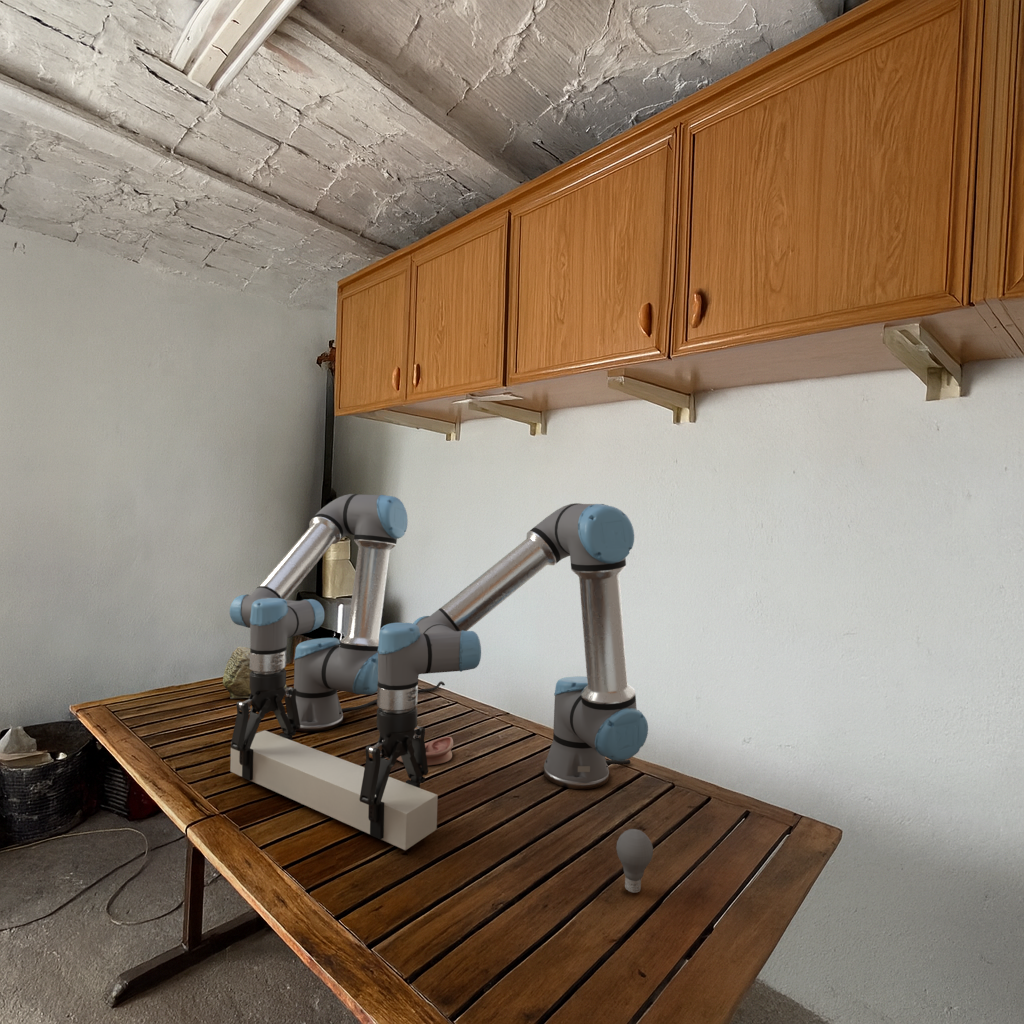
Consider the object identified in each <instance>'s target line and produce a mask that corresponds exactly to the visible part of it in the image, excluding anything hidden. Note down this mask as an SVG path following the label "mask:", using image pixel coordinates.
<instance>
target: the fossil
mask: <svg viewBox="0 0 1024 1024" xmlns="http://www.w3.org/2000/svg"><path fill="white" fill-rule="evenodd" d="M251 671H252V670H250V647H247V646H246V647H245V646H238V647H237V648H236V649H235V650H233V651H232V653H231V656H230V657H229V659H228V660H227V663H226V666H225V668H224V671H223V675H222V676H223V677H222V685H223V687H224V688H225V690H226V691H228V693H229V698H230V699H249V697H250V694H251V690H250V686H249V684H250V672H251ZM287 687H288V686H287V684H286V685H285V686H284V688H285V689H286V688H287Z"/></svg>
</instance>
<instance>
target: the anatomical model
mask: <svg viewBox="0 0 1024 1024" xmlns="http://www.w3.org/2000/svg"><path fill="white" fill-rule="evenodd" d="M453 747H454V739H453V737H452V736H443V737H439V738H437V739H436V738H435V739H433V740H431V741H428V742H425V749H426V757H427V765H428V766H434V765H435V766H436V765H439V764H440V765H441V764H444V763H446V762H449V761H450V760H452V758H453V752H452V750H453ZM396 761H399V762H401V763H403V760H402V758H401V756H400V757H398V758H397V759H396ZM420 766H421V765H420ZM421 767H422V766H421Z"/></svg>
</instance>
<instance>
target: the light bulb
mask: <svg viewBox="0 0 1024 1024" xmlns="http://www.w3.org/2000/svg"><path fill="white" fill-rule="evenodd" d="M615 849H616V854H617V857H618V859H619V861H620V863H621V865H622V867H623V873H624V874H623V875H624V876H625V878H624V888H625V890H627V891H628V892H630V893H634V894H635V893H639V892H640V891H641V889H642V887H641V886H642V879H643V877H644V875H645V871H646V868H647V867H648V866H649V864H650V863H651V861H652V859H653V855H654V847H653V843H652V841H651V838H649V836H648V835H647V834H646V833H645V832H643V831H642V830H641V829H636V828H629V829H627V830H625V831H623V832H622V833H621V834H620V835H619V837H618V839H617V841H616V847H615Z"/></svg>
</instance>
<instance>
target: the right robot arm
mask: <svg viewBox="0 0 1024 1024" xmlns="http://www.w3.org/2000/svg"><path fill="white" fill-rule="evenodd" d="M634 544H635V530H634V526H633V523H632V521H631V519H630V518H629V517H628V515H627V514H626V513H625V512H623V510H621V509H619V508H618V507H615V506H612V505H608V504H605V503H577V502H575V503H569V504H566V505H563V506H561V507H559V508H557V509H556V510H555V511H553V512H552V513H550V514H549V515H547V516H546V517H545V518H544V519H542V520H541V521H540V522H539V523H537V524H536V525H535V526H533V527H532V528H531V529H530V530H529V531H527V532H526V538H525V540H523V541H522V542H520V544H518V545H517V546H516V547H515V548H513V549H512V550H511V551H510V552H508V553H507V554H506V555H504V557H502V558H501V559H500V560H498V561H497V562H496V563H494V564H493V565H492V566H491V567H489V568H488V569H487V570H486V571H485V572H483V573H482V574H481V575H480V576H478V578H476V579H475V580H473V581H472V582H471V583H470V584H469V585H467V586H466V587H464V588H463V590H461V591H459V592H458V593H456V595H455V596H454V597H452V598H451V599H450V600H449V601H448V602H446V603H445V604H444V605H442V606H441V607H440V608H438V609H437V610H435V611H434V612H433V613H432V614H431V615H423V616H420V617H418V618H416V619H415V620H414V621H413V623H411V622H391V623H387V624H385V625H383V626H382V627H380V633H379V644H378V649H377V650H378V685H377V692H376V699H377V703H376V706H377V709H376V728H377V730H378V733H379V736H378V739H377V743H376V744H374V745H370V744H369V745H366V747H365V763H364V768H365V769H364V775H363V781H362V787H361V793H360V802H363V803H365V804H368V805H369V813H368V818H369V820H370V834H369V835H370V836H371V837H373V838H376V839H378V840H380V841H382V840H381V839H383V838H384V802H381V800H382V797H383V793H384V790H385V787H386V784H387V781H388V777H390V774H391V771H392V768H393V766H395V765H396V762H397V758H398V757H400V756H401V758H402V760H403V762H402V763H403V766H404V768H405V771H406V774H407V776H408V778H409V779H406V780H405V783H407V784H410V785H413V786H415V787H418V788H421V784H423V783H425V781H426V777H425V776H427V775H428V773H429V765H427V757H426V749H425V743H426V742H425V737H426V728H425V727H422V726H419V725H418V707H417V705H418V693H419V692H418V690H419V687H418V686H419V675H427V674H438V673H439V674H440V673H452V672H464V671H470V670H474V669H476V668H478V666H479V665H480V663H481V659H482V645H481V644H482V643H481V640H480V637H479V635H478V634H477V632H475V631H473V630H470V629H471V628H473V627H474V626H475V625H476V624H478V623H479V622H480V621H481V620H482V619H484V618H485V617H486V616H487V615H488V614H490V613H491V612H492V611H493V610H494V609H496V608H497V607H498V606H499V605H501V604H502V603H504V601H506V600H507V599H508V598H509V597H510V596H512V594H514V593H515V592H516V591H518V590H519V589H520V588H522V587H523V586H524V585H525V584H526V583H527V582H529V581H530V580H531V579H532V578H534V577H535V576H536V575H537V574H539V572H541V571H542V570H544V569H545V568H546V567H547V566H553V567H554V566H555V565H557V563H559V562H560V561H562V560H563V559H565V558H568V557H569V559H570V561H569V562H570V569H571V571H572V572H573V573H574V574H575V575H577V577H578V583H579V596H580V608H581V620H582V632H583V633H582V634H583V646H584V657H585V670H586V671H585V672H586V676H585V675H584V676H581V675H579V676H578V675H577V676H566V677H562V678H560V679H558V680H557V681H556V682H555V689H554V694H553V695H554V705H553V706H554V709H553V729H552V730H553V734H552V743H551V745H550V748H549V751H548V754H547V757H546V759H545V761H544V764H543V776H545V778H546V779H547V780H548V781H549V782H551V783H553V784H555V785H558V786H560V787H563V788H568V789H574V790H590V789H596V788H600V787H602V786H604V785H605V784H607V783H608V781H609V778H610V775H609V774H610V770H609V769H610V768H609V765H621V766H622V765H630V764H631V760H630V759H631V758H633V757H634V756H636V755H637V754H638V753H639V752H640V749H641V748H642V747H643V746H644V745H645V743H646V741H647V738H648V735H649V724H648V719H647V718H646V716H645V715H644V713H642V711H640V710H639V709H637V697H636V695H637V694H636V689H635V688H634V687H633V686H631V685H630V684H629V683H628V672H627V657H626V646H625V643H626V642H625V633H624V631H625V630H624V619H623V618H624V617H623V605H622V604H623V603H622V602H623V601H622V591H621V578H620V577H621V576H620V575H621V573H622V572H623V571H624V570H625V568H626V567H627V560H626V558H627V557H628V556H629V554H630V551H631V550H633V547H634ZM606 758H607V759H606ZM420 765H421V766H420ZM375 795H376V796H375Z"/></svg>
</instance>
